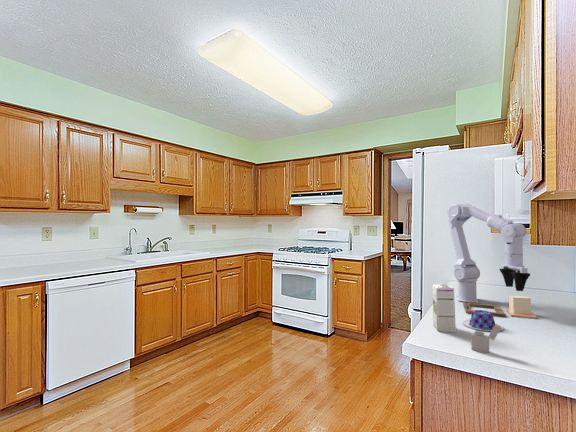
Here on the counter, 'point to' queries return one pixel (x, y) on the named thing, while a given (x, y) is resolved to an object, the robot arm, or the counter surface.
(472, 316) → the pudding
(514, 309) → the cream upright block
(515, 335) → the counter surface
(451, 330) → the white segmented tower
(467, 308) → the wooden picture frame
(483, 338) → the lighter
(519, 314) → the peach rectangular tile
